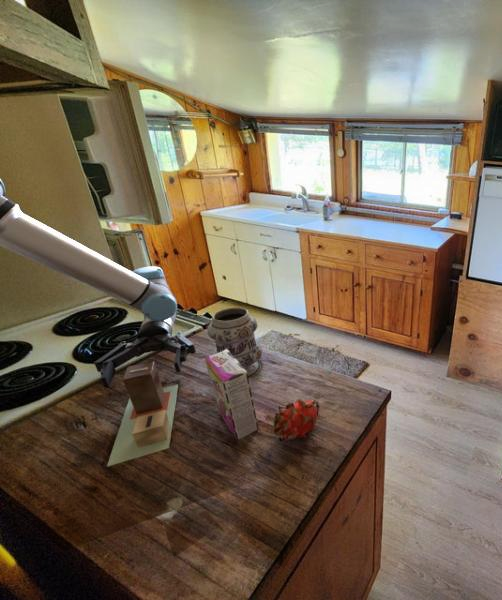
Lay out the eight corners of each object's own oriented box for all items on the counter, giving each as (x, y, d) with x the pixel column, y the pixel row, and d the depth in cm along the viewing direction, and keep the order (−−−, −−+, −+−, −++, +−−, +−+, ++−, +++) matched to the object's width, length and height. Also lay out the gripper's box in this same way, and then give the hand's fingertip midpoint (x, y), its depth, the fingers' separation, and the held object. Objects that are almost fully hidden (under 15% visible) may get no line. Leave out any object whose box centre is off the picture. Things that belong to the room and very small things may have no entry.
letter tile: (138, 448, 66) (131, 433, 64) (142, 430, 70) (136, 416, 68) (167, 439, 68) (162, 425, 67) (169, 423, 72) (165, 409, 71)
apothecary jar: (254, 353, 98) (244, 299, 91) (272, 371, 91) (263, 314, 83) (211, 369, 91) (197, 312, 83) (227, 391, 83) (213, 330, 75)
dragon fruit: (272, 454, 68) (315, 425, 78) (294, 451, 64) (337, 421, 73) (257, 416, 69) (302, 392, 79) (278, 410, 64) (323, 386, 74)
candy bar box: (218, 414, 76) (203, 356, 69) (239, 404, 79) (227, 347, 72) (236, 443, 69) (222, 381, 62) (259, 430, 72) (248, 370, 65)
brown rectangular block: (136, 414, 74) (122, 379, 70) (140, 400, 78) (127, 366, 74) (162, 408, 76) (150, 373, 72) (165, 394, 80) (153, 361, 76)
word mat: (107, 468, 62) (106, 466, 62) (130, 396, 80) (130, 394, 80) (169, 449, 67) (168, 447, 66) (178, 385, 84) (178, 383, 84)
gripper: (208, 334, 99) (207, 374, 82) (104, 352, 88) (77, 403, 71) (203, 312, 96) (200, 349, 79) (94, 329, 85) (64, 375, 68)
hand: (142, 375), depth 75 cm, fingers open, 13 cm apart
